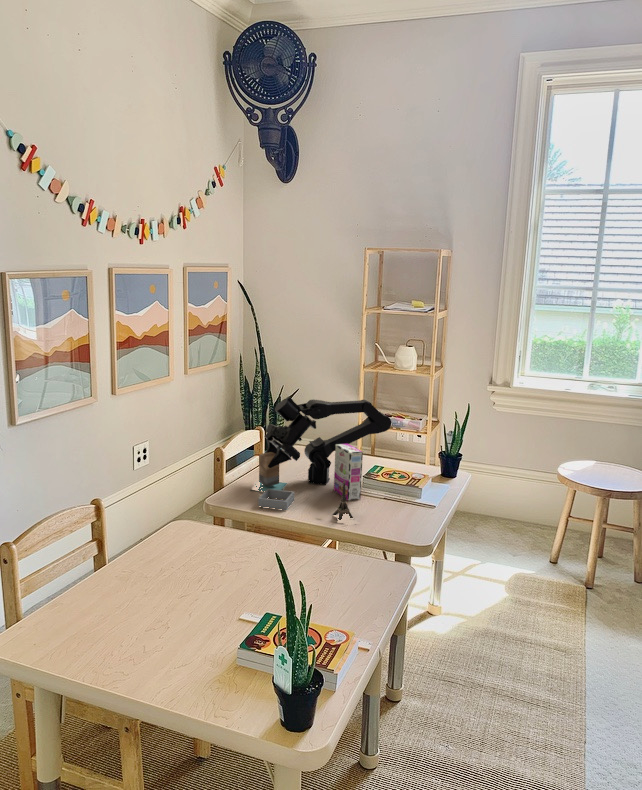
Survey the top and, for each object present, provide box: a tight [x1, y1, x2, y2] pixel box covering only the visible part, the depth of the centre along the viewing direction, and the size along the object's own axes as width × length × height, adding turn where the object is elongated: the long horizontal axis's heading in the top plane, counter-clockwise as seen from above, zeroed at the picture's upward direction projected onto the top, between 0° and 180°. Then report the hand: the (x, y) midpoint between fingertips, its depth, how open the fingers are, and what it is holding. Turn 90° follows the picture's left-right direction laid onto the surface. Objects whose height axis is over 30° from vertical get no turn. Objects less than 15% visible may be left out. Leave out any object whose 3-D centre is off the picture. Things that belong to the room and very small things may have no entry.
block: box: [258, 452, 280, 486], centre depth 223 cm, size 5×5×10 cm
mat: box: [254, 481, 288, 491], centre depth 225 cm, size 10×10×1 cm
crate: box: [257, 489, 296, 511], centre depth 209 cm, size 9×9×3 cm
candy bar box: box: [333, 444, 364, 502], centre depth 218 cm, size 11×5×16 cm, turn 25°
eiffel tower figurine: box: [332, 477, 354, 520], centre depth 199 cm, size 15×10×13 cm
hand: (265, 464), depth 222 cm, fingers closed on block, 5 cm apart
